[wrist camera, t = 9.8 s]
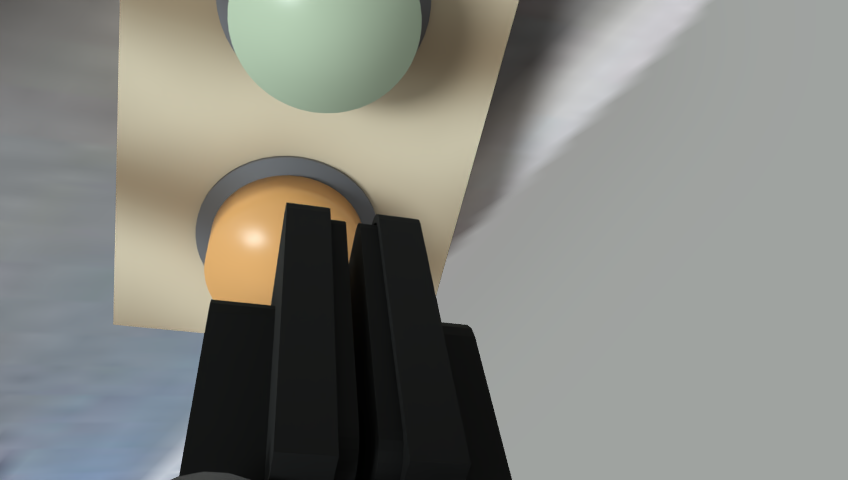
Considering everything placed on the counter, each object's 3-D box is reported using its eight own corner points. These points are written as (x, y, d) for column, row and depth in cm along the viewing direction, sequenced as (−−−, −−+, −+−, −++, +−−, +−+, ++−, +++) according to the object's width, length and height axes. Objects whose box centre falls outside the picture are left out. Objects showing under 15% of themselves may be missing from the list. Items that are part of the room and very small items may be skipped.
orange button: (217, 164, 24) (210, 193, 23) (376, 187, 25) (380, 216, 24) (205, 294, 27) (198, 328, 25) (350, 309, 28) (352, 342, 26)
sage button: (242, -111, 20) (237, -98, 19) (432, -71, 21) (440, -55, 20) (225, 73, 23) (219, 97, 21) (395, 100, 24) (400, 126, 22)
